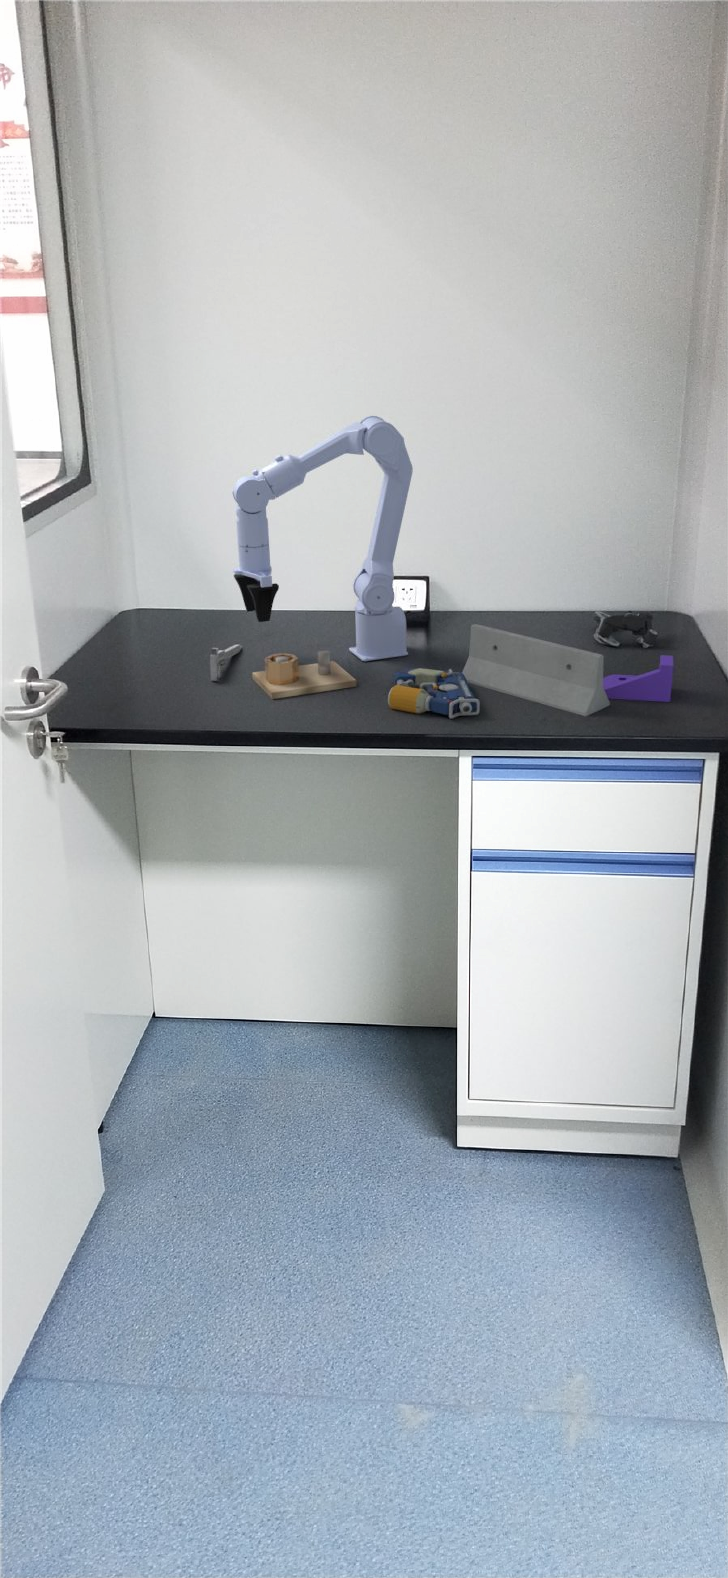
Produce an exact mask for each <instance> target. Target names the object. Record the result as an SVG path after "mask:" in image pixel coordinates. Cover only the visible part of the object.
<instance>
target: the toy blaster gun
mask: <svg viewBox="0 0 728 1578" xmlns="http://www.w3.org/2000/svg"><path fill="white" fill-rule="evenodd" d="M393 682H394V686H392V687H391V688H390V690H389V693H388V696H387V703H388V705H389V707H390V709H391V710H395V711H396V710H397V711H400V712H401V711H402V712H407V713H413V714H417V715H419V714H423V713H425V712H430V711H431V712H433V713H435V714H436V713H437V714H441V715H444V716H448V718H449V719H451V720H452V719H454V718H456V717H459V716H476V715H478V714H479V713H480V710H481V709H480V707H481V706H480V705H481V704H480V703H481V702H480V700H479V699H478V698H475V695H474V693H473V692H472V690H471V688H470V687H469V685H468V682H467V680H466V678H465V676H464V674H463V673H462V672H461V671H458V672H453V670H452V668H449V669H446V671H445V670H437V669H430V668H418V667H417V668H416V667H413V668H409V669H405V670H401V671H398V672H396V673H395V674H394V675H393Z"/></svg>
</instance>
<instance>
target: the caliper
mask: <svg viewBox="0 0 728 1578" xmlns="http://www.w3.org/2000/svg"><path fill="white" fill-rule="evenodd" d="M241 649H243V646H242V645H241V644H233V645H232V646H229V647H228V648H226V649H223V650H221V649H219V647H212V648H210V655H209V663H210V664H209V667H210V680H211V682H218V680H220V677H221V666H224V665H226V660H228V659H230V658H231V657H233V656H235V655H237V654H239V653H240V651H241Z"/></svg>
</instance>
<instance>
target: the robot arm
mask: <svg viewBox="0 0 728 1578" xmlns="http://www.w3.org/2000/svg"><path fill="white" fill-rule="evenodd" d="M364 451H365V452H367V453H368V454H369V455H370V456H372V457H373V458H374V460H375V461H376V463H377V464H378V467H380V469H381V470H382V472H383V478H382V482H381V483H382V484H381V488H380V493H379V497H378V503H377V506H376V507H377V508H376V511H375V516H374V520H373V521H374V522H373V527H372V531H371V536H370V540H369V541H370V542H369V545H368V551H367V555H366V557H365V559H364V560H363V562H362V564H361V569H360V571H359V573H358V574H357V575H356V576H355V578H354V581H353V585H352V587H353V593H354V594H355V596H356V597H357V599H358V602H357V603H356V605H355V607H354V610H355V612H354V613H355V614H354V615H355V644H356V645H355V646H352V647H349V648H348V650H349V652H350V653H352V654H353V655H355V656H356V657H357V658H358V659H360V660H361V661H362V662H368V661H375V660H377V661H378V660H383V659H389V658H396V657H398V658H399V657H404V656H408V655H409V651H407V619H406V614H405V612H404V610H403V608H402V607H401V606H394V605H393V604H394V601H395V590H394V584H393V583H394V579H395V578H394V577H395V575H394V561H395V560H394V559H395V557H396V555H395V554H396V550H397V545H398V541H399V536H400V533H401V527H402V524H403V523H402V522H403V518H404V513H405V510H406V504H407V501H408V495H409V490H410V487H411V481H412V475H413V471H414V470H413V469H414V468H413V465H412V462H411V461H412V460H411V459H410V456H409V452H408V450H407V447H406V444H405V438H404V437H403V436H402V434H401V433H400V431H399V430H398V429H397V428H396V427H395V426H394V424H392V423H390V422H388V421H385V420H384V419H383V418H381V417H379V416H377V415H369V416H365V418H363V419H361V421H356V422H353V423H351V424H348V425H347V426H346V427H343V428H342V429H341V430H339V431H336V433H333V435H331V436H329V437H328V438H327V437H326V439H324V440H322V441H321V442H319V443H318V444H316V445H314V446H313V447H312V448H310V449H308V450H307V451H305V452H304V453H301V454H300V455H298V456H294V455H292V454H285V455H284V456H282V454H278V455H276V456H275V457H274V460H275V461H273V462H272V463H269V464H268V465H266V466H265V467H263V468H261V469H259V470H258V469H254V470H252V471H251V473H252V475H250V476H249V475H246V476H242V477H240V478H239V479H238V480H237V481H236V483H235V484H234V486H233V491H232V492H231V493H232V497H233V499H234V501H235V502H236V504H237V505H236V511H235V512H236V514H235V515H236V516H237V517H236V520H235V521H236V536H237V547H238V548H237V549H238V560H239V561H238V563H239V566H238V567H237V568H233V578H234V580H235V581H236V583H237V586H238V588H239V589H240V594H241V596H242V600H243V603H244V607H245V610H246V612H255V615H256V619H257V622H258V623H263V622H270V620H271V615H272V612H273V611H272V610H273V609H272V608H273V605H274V600H275V598H276V594H277V592H278V591H279V589H280V586H279V584H278V583H273V577H272V575H271V574H272V572H273V571H272V566H271V557H270V556H271V555H270V554H271V553H270V552H271V551H270V536H269V522H268V521H269V518H267V506H268V504H269V502H270V501H271V500H272V501H274V500H276V499H277V498H279V497H281V496H283V495H284V494H286V493H288V492H290V491H292V490H294V489H295V488H296V487H299V486H300V485H302V484H303V483H304V481H305V478H306V475H307V473H309V472H311V471H313V470H316V469H317V468H319V467H321V466H323V465H325V464H327V463H329V462H331V461H333V460H335V459H337V458H339V457H341V456H343V455H345V454H349V455H361V456H364Z"/></svg>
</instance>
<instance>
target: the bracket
mask: <svg viewBox="0 0 728 1578" xmlns="http://www.w3.org/2000/svg"><path fill="white" fill-rule="evenodd" d="M659 657H660V658H659V667H658V669H657V668H656V669H654V670H650V671H648V672H646V673H642V674H639V675H631V674H610V675H607V676H603V688H604V691H605V693H606V695H607V697H608V700H609V699H610V700H611V699H614V700H629V701H630V700H631V701H644V702H645V701H646V702H647V701H648V702H649V701H651V702H666V703H670V702H671V696H672V695H671V694H672V684H673V672H674V656H673V655H664V654H661V655H660V656H659Z"/></svg>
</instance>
